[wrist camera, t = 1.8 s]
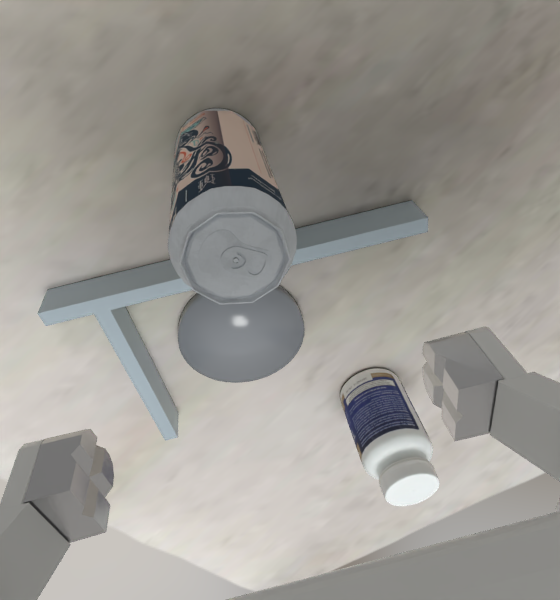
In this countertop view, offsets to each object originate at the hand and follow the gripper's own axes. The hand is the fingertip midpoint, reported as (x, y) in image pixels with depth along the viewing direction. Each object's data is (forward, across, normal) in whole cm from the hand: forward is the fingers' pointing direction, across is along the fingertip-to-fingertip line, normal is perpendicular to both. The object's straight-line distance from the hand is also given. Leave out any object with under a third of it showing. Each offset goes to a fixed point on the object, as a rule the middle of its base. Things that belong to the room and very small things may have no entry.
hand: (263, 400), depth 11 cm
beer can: (+19, 0, 0) cm, 19 cm away
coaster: (+19, +2, +13) cm, 23 cm away
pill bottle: (+19, -7, +23) cm, 31 cm away
